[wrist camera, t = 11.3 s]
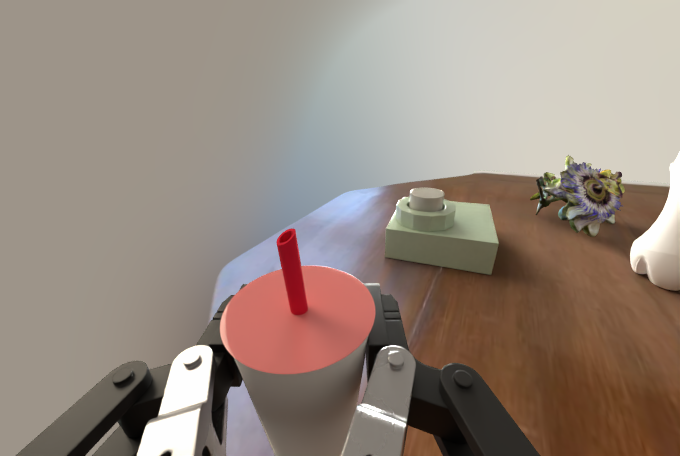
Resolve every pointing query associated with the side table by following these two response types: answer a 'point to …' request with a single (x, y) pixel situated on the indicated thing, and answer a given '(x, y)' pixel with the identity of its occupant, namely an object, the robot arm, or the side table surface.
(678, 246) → the water bottle
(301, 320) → the cup
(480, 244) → the green button box
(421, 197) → the button
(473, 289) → the side table surface
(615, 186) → the passion flower
